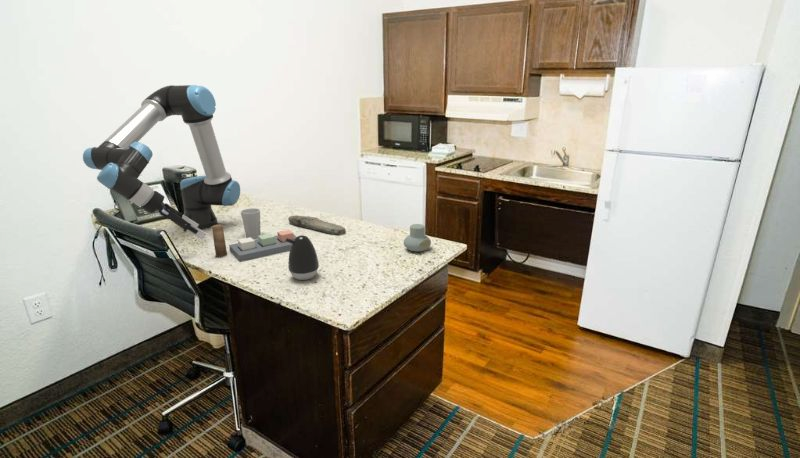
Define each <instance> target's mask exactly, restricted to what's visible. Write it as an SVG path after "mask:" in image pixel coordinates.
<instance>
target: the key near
mask: <svg viewBox="0 0 800 458" xmlns="http://www.w3.org/2000/svg"><path fill="white" fill-rule="evenodd" d="M254 240H255V239H254ZM254 240H253V239H252V238H251V237H250V238H246V237H245V238H240V239H237V243H238V245H239V248H240V249H241V250H242V251H243V250H248V249H253V248H255V241H254Z"/></svg>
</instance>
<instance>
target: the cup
mask: <svg viewBox="0 0 800 458" xmlns="http://www.w3.org/2000/svg"><path fill="white" fill-rule="evenodd" d="M240 215H241V220H242V222H243V223H242V224H243V229H244V234H245V238H250V237H251V238H252V239H253V240H257V239H258V236H260V235H262V234H261V233H262V232H261V209H260V208H252V207H251V208H246V209H242V210H240Z"/></svg>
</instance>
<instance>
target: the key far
mask: <svg viewBox="0 0 800 458" xmlns="http://www.w3.org/2000/svg"><path fill="white" fill-rule="evenodd" d="M276 233H277V235H278V239H279V240H280V241H281V242H286V238H288V239H292V240H294V235H295V233H294V232H293V231H291V230H290V229H287V230H286V229H285V230H282V231H277V232H276Z"/></svg>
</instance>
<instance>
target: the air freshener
mask: <svg viewBox="0 0 800 458" xmlns="http://www.w3.org/2000/svg"><path fill="white" fill-rule="evenodd" d="M425 231H426V227H425V225H424V224H421V223H413V224H411V225H410V227H409V235H407V236H406V237H404V240H403V245H404V247H405V249H407V250H409V251H411V252H415V253H416V252H417V253H422V252H424V251H426V250H427V249H429V248H430V247H431V244H432V241H431V239H430V238H429V236H427V235H426V234H425Z"/></svg>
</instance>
